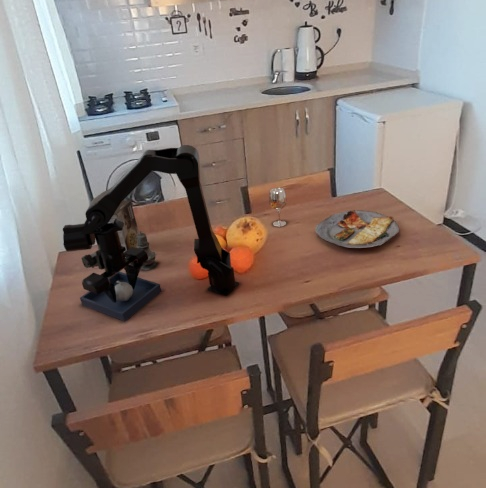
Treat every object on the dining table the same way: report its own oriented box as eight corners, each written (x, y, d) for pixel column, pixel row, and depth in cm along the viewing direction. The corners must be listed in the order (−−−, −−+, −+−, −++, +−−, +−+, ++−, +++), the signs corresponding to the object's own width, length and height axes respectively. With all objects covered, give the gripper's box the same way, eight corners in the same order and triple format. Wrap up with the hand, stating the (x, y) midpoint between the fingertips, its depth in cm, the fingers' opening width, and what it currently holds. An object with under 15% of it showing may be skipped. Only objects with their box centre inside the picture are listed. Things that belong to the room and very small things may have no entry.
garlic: (113, 295, 130) (108, 280, 127) (132, 289, 131) (128, 274, 129) (116, 307, 125) (111, 291, 122) (136, 301, 126) (132, 285, 124)
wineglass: (269, 221, 160) (267, 188, 154) (286, 218, 160) (284, 186, 154) (272, 228, 155) (269, 195, 149) (289, 226, 155) (287, 192, 149)
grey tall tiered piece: (153, 271, 139) (145, 235, 133) (135, 270, 141) (126, 235, 135) (160, 260, 144) (153, 226, 138) (143, 260, 146) (134, 226, 140)
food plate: (347, 210, 161) (347, 200, 159) (411, 227, 146) (412, 217, 144) (302, 239, 146) (302, 229, 145) (368, 262, 132) (368, 251, 130)
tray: (161, 291, 130) (160, 284, 128) (124, 321, 120) (122, 313, 118) (120, 278, 138) (118, 271, 137) (82, 305, 128) (79, 297, 127)
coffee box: (125, 243, 156) (113, 199, 148) (142, 244, 155) (131, 199, 147) (111, 257, 149) (98, 212, 141) (129, 258, 147) (117, 212, 139)
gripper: (114, 224, 130) (127, 271, 138) (60, 256, 117) (77, 306, 125) (143, 231, 125) (155, 280, 132) (89, 266, 112) (106, 317, 119)
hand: (123, 295), depth 128 cm, fingers open, 7 cm apart
